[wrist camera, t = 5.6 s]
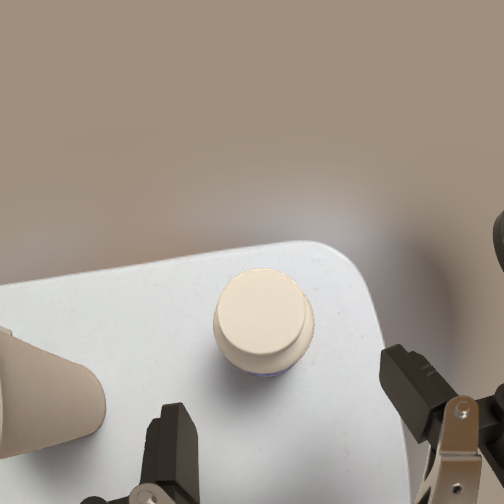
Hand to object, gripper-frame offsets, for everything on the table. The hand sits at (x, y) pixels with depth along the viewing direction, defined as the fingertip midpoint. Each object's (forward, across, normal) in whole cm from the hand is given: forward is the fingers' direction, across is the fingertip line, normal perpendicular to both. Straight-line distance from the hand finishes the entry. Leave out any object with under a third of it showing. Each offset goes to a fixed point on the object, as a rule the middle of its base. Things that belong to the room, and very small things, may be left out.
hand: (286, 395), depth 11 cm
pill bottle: (+10, 0, +5) cm, 11 cm away
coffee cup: (+9, +17, +6) cm, 20 cm away
